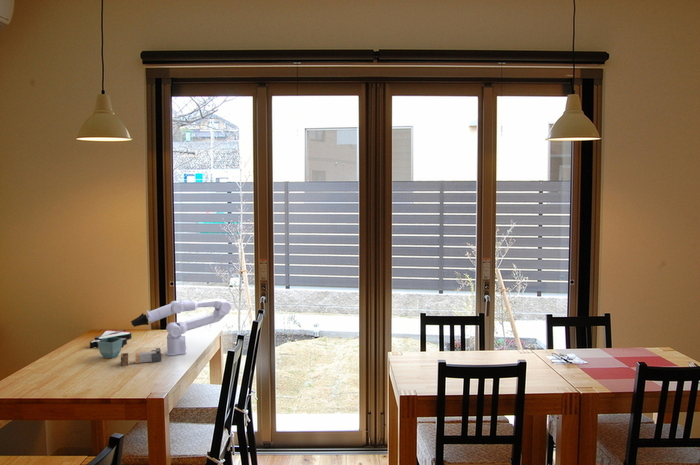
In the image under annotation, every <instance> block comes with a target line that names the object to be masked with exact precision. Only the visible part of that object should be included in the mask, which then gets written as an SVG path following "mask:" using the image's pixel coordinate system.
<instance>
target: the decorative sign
mask: <svg viewBox="0 0 700 465" xmlns="http://www.w3.org/2000/svg"><path fill="white" fill-rule="evenodd" d="M108 337H112V338H123V340H122V348H121V349H123V348H124V346H125V345H127V344H128V341H129V340H131V339H132V332H131V331H126V329H121V330H111V329H110V330H109V329H106V330H104V332H102V334H100V335H99V336H95V337H94V339H93V340H91V341H90V342H89V348H90V349H94V347H96V348H99V347H98V341H101V340H103V339H105V338H108Z"/></svg>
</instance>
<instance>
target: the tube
mask: <svg viewBox="0 0 700 465" xmlns="http://www.w3.org/2000/svg"><path fill="white" fill-rule="evenodd" d="M160 351H161V352H157V353H161V354H162V350H161V349H160ZM152 353H156V351H152V350H150V351H143V352H142V351H140V352H135V354H134V355H135V359H134V360H135V364H140V363H149V362H150V363H151V362H152Z"/></svg>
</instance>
